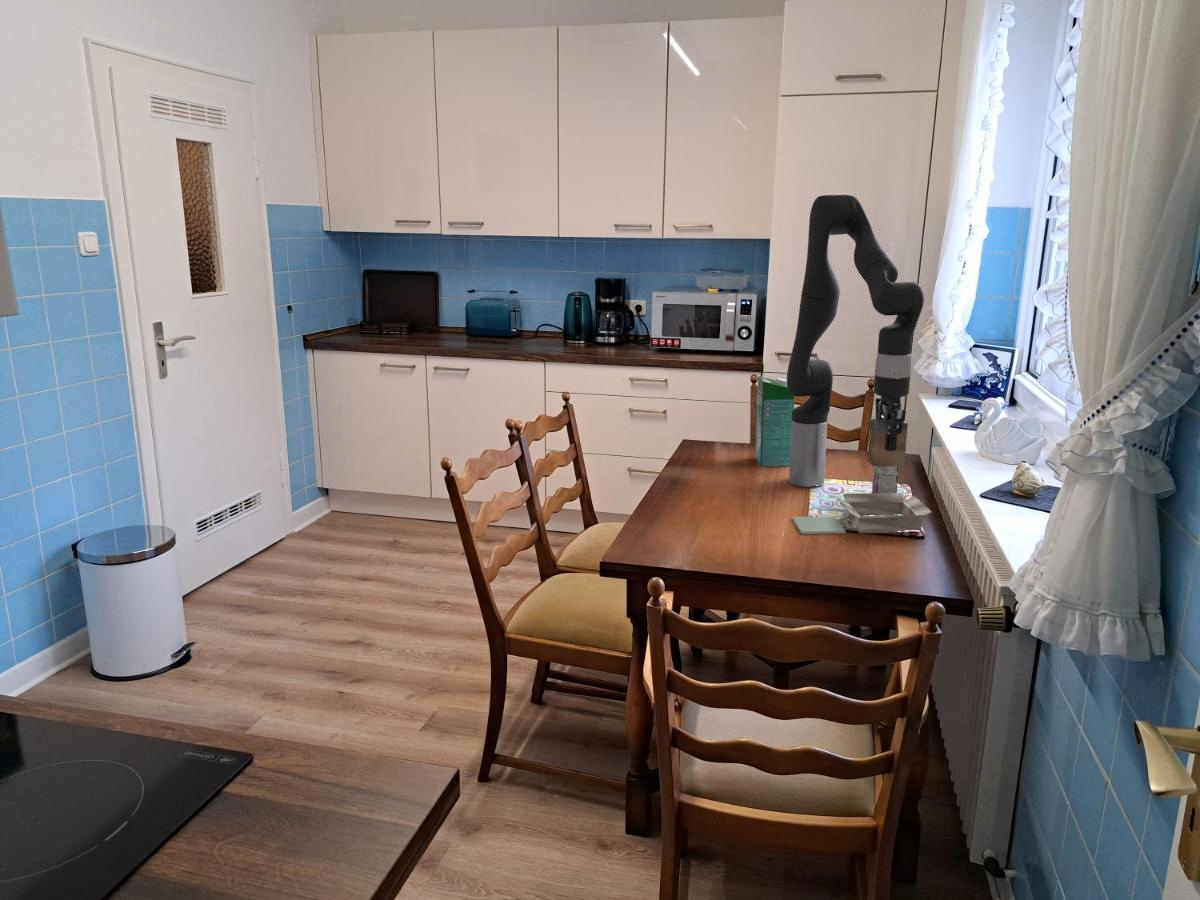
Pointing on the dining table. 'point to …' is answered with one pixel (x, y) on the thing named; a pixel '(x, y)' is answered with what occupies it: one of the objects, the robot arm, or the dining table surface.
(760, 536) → the dining table surface
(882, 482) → the candy bar box
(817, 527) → the mat
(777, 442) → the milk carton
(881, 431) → the block
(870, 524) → the carton
